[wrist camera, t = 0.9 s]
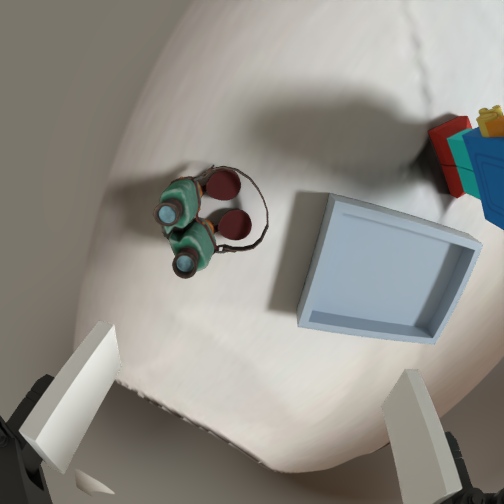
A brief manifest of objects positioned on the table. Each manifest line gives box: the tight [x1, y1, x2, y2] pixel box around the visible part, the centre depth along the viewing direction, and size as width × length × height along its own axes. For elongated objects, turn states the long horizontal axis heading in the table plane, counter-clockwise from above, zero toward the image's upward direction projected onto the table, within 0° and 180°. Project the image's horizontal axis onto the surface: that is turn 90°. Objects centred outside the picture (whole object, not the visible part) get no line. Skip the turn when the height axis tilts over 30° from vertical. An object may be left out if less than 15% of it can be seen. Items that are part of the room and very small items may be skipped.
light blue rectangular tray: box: [297, 193, 483, 344], centre depth 32 cm, size 15×20×4 cm
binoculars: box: [153, 165, 269, 279], centre depth 27 cm, size 9×11×10 cm
